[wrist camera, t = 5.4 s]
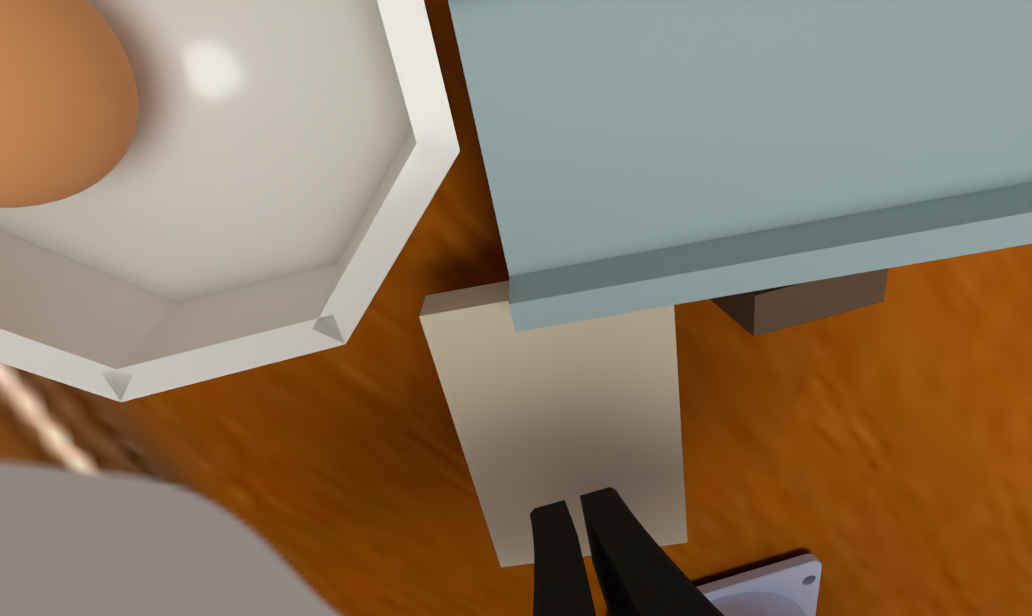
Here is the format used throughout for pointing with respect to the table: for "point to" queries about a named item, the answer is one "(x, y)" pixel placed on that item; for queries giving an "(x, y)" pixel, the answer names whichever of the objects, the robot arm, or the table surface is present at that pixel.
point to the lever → (699, 206)
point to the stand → (803, 301)
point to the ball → (60, 100)
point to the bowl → (233, 194)
